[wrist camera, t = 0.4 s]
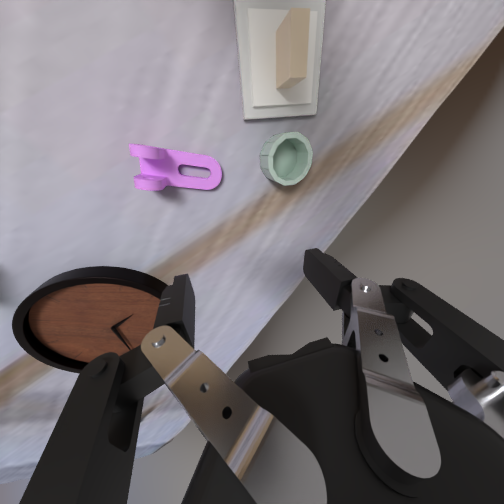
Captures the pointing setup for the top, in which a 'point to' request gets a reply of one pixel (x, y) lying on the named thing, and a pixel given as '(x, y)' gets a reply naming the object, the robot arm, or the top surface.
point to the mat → (241, 5)
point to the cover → (281, 55)
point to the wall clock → (87, 315)
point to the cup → (286, 158)
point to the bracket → (172, 169)
